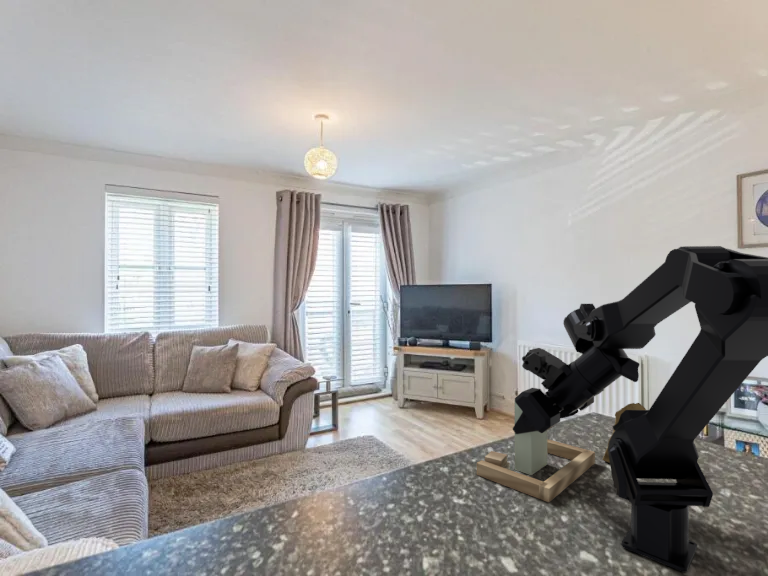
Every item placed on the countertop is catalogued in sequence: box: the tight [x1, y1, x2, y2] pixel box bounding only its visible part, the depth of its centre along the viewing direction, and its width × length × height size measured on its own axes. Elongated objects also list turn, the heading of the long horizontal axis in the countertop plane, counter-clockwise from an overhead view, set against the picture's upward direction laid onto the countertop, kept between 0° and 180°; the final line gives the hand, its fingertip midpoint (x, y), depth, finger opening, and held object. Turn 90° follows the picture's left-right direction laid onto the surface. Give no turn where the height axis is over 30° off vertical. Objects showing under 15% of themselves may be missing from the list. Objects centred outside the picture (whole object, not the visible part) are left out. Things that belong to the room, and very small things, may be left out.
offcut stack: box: [484, 450, 511, 470], centre depth 71 cm, size 4×3×2 cm
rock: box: [602, 402, 647, 464], centre depth 76 cm, size 11×9×10 cm
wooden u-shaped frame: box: [476, 438, 596, 503], centre depth 71 cm, size 18×12×2 cm, turn 134°
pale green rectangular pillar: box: [514, 401, 548, 476], centre depth 72 cm, size 6×3×12 cm, turn 134°
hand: (523, 426), depth 73 cm, fingers closed on pale green rectangular pillar, 6 cm apart
